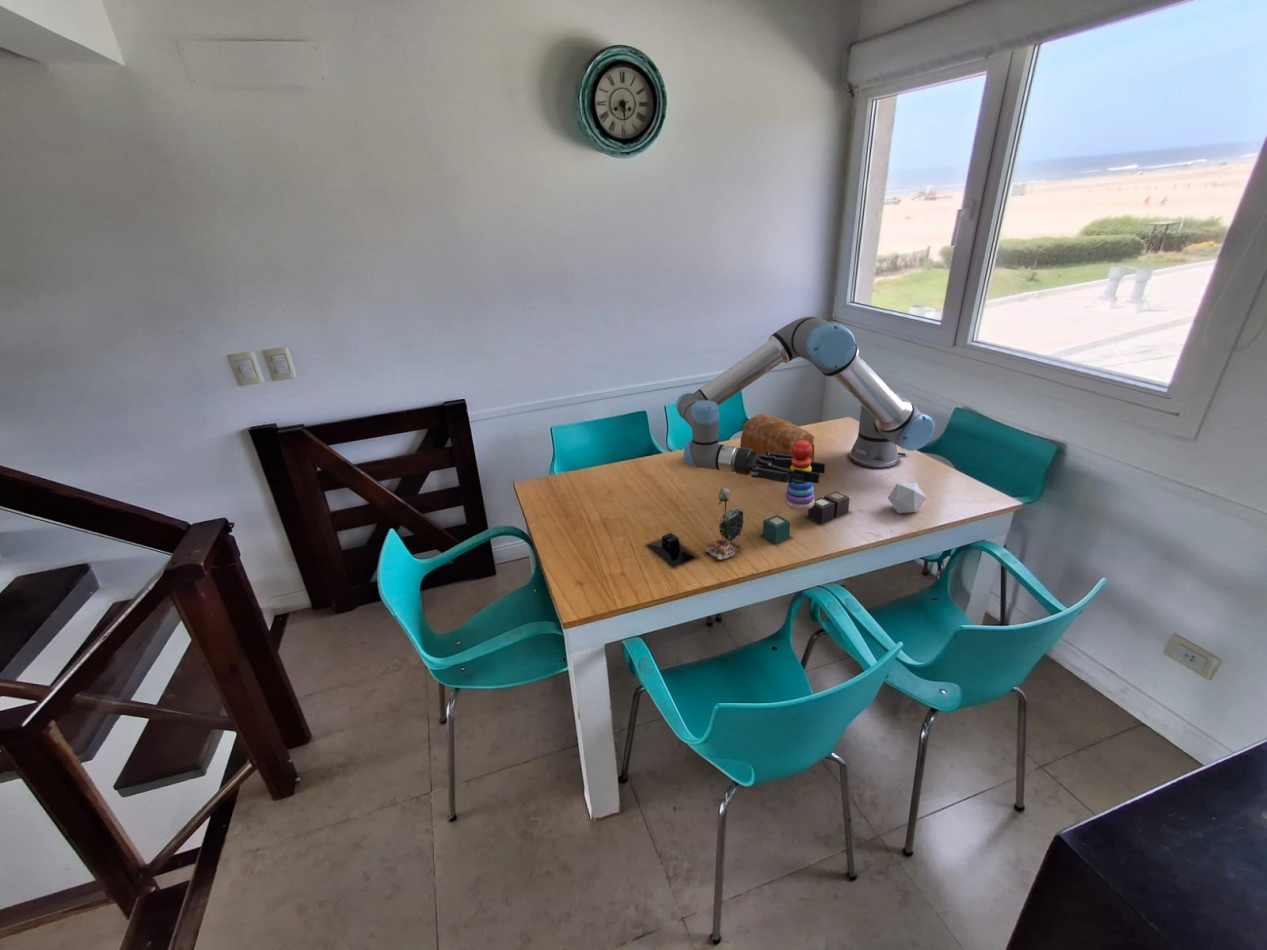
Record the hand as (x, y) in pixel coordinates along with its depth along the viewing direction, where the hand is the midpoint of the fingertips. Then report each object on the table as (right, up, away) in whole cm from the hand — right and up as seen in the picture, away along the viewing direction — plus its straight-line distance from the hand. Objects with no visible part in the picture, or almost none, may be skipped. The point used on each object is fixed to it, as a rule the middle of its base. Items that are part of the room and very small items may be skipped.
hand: (821, 473), depth 146 cm
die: (+29, -11, +14) cm, 33 cm away
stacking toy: (-4, -9, +7) cm, 12 cm away
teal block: (-11, -17, +6) cm, 21 cm away
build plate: (-39, -21, +3) cm, 45 cm away
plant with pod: (-25, -21, +2) cm, 32 cm away
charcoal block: (+4, -13, +13) cm, 19 cm away
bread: (0, +3, +48) cm, 48 cm away
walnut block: (+9, -11, +16) cm, 21 cm away
